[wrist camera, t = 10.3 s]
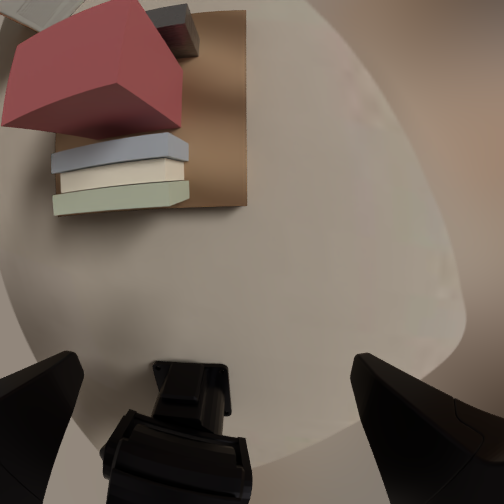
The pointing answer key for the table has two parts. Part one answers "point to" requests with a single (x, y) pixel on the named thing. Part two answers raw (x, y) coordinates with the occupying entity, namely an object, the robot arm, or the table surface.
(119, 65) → the red flat-faced block
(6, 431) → the robot arm
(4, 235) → the table surface
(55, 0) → the small box
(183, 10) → the bookend
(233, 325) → the table surface
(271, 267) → the table surface
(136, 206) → the shelved books
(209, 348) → the table surface
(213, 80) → the shelf
